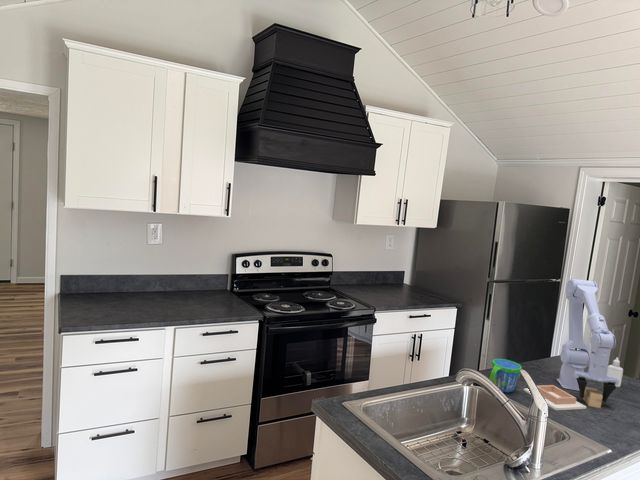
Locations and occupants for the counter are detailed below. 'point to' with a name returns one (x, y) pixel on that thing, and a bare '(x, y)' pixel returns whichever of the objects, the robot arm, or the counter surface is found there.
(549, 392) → the tray
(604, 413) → the counter surface
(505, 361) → the snack cup
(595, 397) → the oak key block
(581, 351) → the robot arm
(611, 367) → the eye dropper bottle
